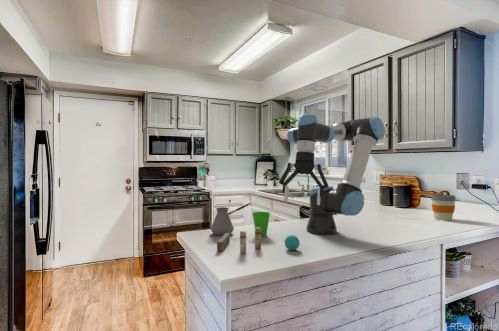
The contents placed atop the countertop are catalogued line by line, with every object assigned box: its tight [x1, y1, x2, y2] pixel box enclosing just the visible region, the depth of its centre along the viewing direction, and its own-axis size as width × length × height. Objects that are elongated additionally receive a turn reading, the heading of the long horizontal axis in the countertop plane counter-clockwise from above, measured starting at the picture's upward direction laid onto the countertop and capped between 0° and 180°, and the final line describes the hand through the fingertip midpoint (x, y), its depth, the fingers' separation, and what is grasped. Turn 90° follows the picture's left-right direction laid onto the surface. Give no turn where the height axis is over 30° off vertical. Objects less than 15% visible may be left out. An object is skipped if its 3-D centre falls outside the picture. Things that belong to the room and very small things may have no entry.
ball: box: [284, 234, 301, 251], centre depth 114 cm, size 6×6×6 cm
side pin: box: [239, 230, 247, 255], centre depth 110 cm, size 2×2×8 cm
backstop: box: [216, 233, 231, 253], centre depth 119 cm, size 2×14×4 cm, turn 171°
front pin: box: [254, 227, 262, 250], centre depth 117 cm, size 2×2×8 cm
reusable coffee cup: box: [430, 193, 457, 222], centre depth 175 cm, size 13×13×15 cm
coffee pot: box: [210, 202, 253, 236], centre depth 142 cm, size 21×12×15 cm, turn 108°
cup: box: [251, 210, 271, 237], centre depth 137 cm, size 9×9×11 cm
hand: (301, 203), depth 116 cm, fingers open, 13 cm apart
